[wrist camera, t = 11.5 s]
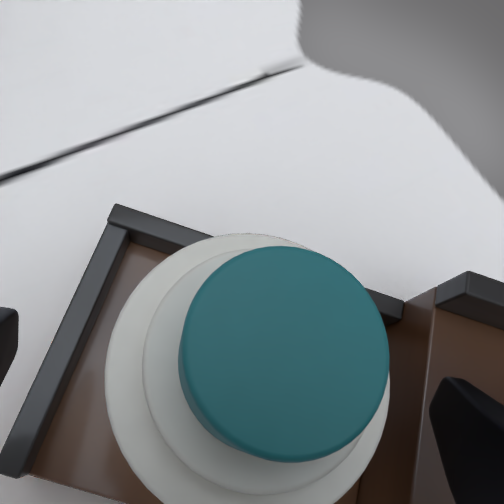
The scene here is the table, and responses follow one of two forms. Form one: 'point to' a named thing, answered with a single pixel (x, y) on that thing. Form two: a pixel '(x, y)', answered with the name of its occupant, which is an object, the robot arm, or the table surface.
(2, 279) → the table surface
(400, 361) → the tray
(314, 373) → the bottle
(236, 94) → the table surface
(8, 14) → the table surface
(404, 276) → the table surface
